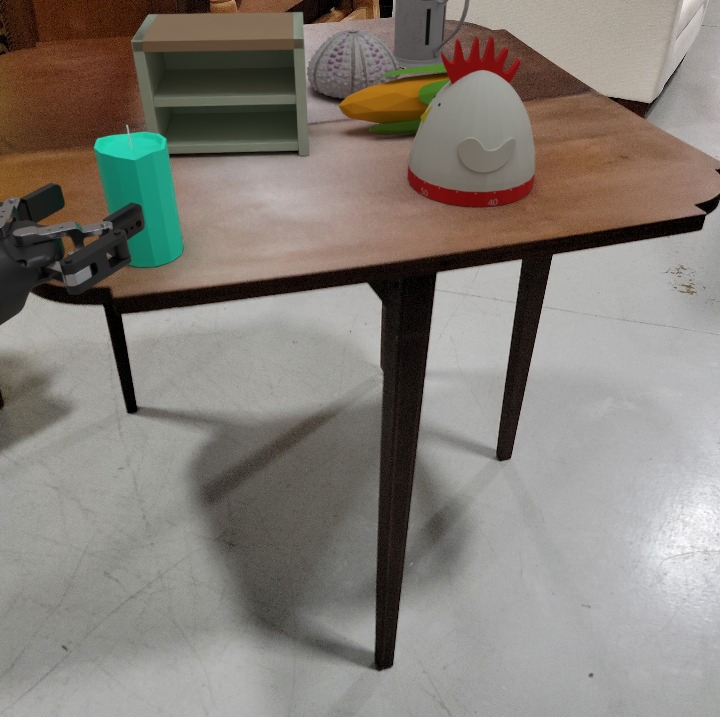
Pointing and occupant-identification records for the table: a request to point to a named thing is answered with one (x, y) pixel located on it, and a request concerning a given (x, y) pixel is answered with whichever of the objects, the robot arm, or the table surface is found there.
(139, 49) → the rack
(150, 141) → the candle
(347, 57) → the sea urchin shell
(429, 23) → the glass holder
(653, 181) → the table surface
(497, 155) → the kitchen timer
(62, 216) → the table surface
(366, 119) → the corn
